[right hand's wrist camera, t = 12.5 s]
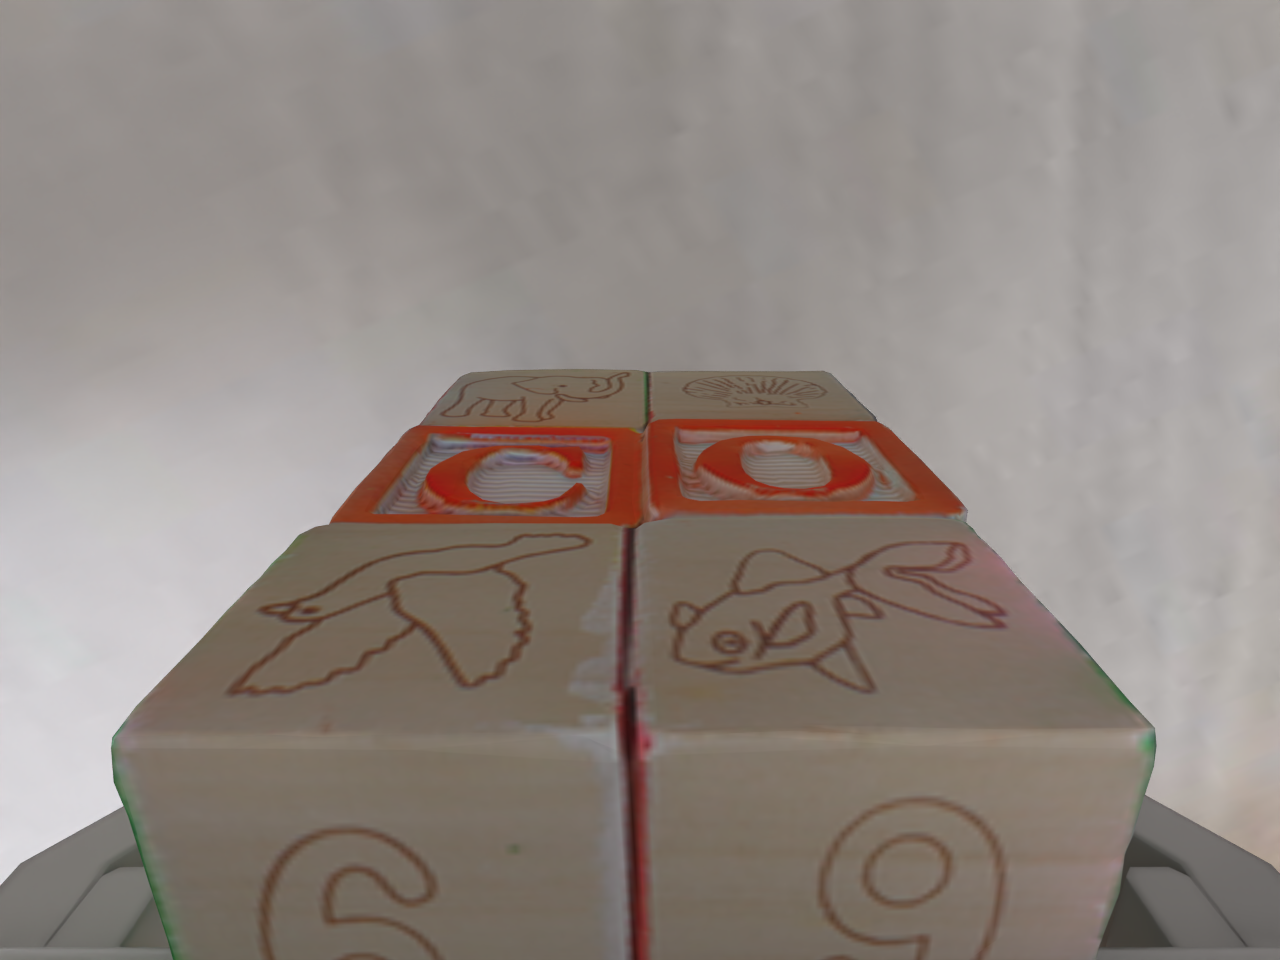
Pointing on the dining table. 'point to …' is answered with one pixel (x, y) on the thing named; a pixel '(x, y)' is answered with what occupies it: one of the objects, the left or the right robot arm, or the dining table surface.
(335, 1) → the dining table surface
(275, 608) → the stack of blocks
